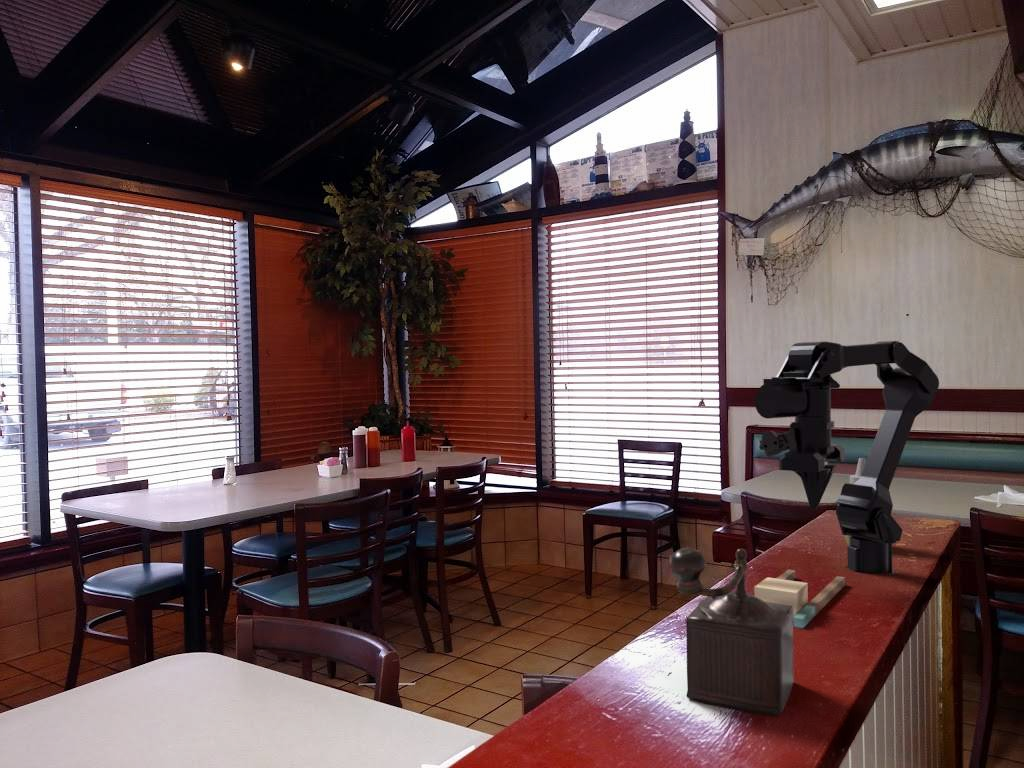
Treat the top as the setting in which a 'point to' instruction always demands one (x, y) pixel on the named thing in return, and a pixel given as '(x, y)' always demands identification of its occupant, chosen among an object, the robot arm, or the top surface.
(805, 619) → the chute
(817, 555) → the top surface
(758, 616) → the dark manual coffee grinder
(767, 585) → the block
